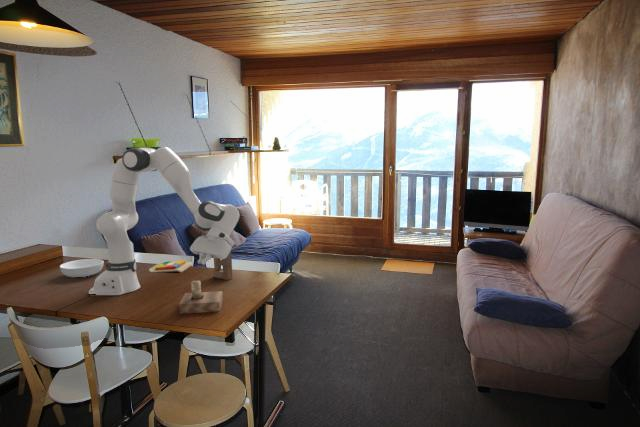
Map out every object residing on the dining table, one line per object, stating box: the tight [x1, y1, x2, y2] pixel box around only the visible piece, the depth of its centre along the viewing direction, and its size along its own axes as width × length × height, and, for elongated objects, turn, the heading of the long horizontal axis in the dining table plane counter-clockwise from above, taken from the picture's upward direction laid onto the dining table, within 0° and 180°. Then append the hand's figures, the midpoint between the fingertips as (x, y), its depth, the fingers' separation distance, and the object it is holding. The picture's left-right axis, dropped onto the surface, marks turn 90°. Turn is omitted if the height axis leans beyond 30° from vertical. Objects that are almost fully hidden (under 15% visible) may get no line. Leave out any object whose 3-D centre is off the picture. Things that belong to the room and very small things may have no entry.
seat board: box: [178, 290, 223, 315], centre depth 187 cm, size 16×14×4 cm
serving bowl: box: [59, 258, 105, 278], centre depth 237 cm, size 21×21×7 cm
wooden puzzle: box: [148, 260, 193, 273], centre depth 249 cm, size 18×19×4 cm
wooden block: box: [212, 251, 234, 281], centre depth 227 cm, size 4×11×18 cm, turn 57°
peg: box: [190, 280, 202, 300], centre depth 186 cm, size 4×4×11 cm
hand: (200, 263), depth 187 cm, fingers closed
